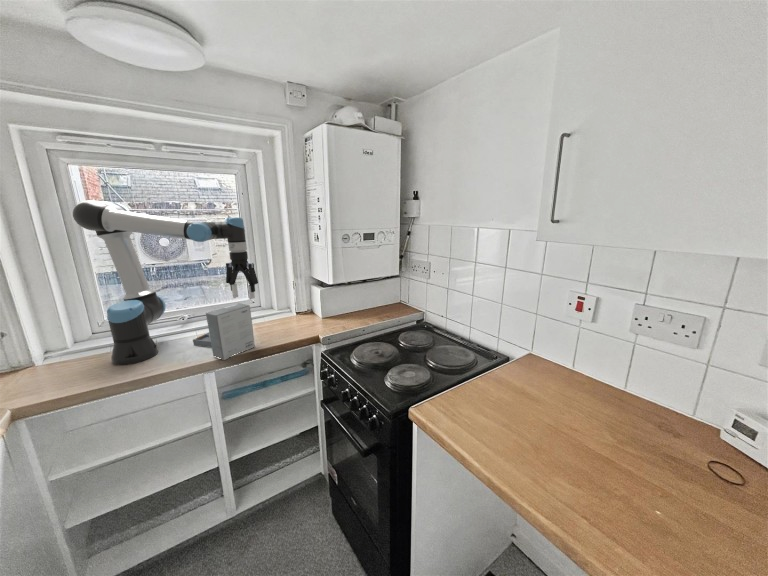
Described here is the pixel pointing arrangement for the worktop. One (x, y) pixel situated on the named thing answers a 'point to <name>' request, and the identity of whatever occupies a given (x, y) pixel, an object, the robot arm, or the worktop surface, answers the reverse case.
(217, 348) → the hard drive box
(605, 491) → the worktop surface
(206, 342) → the dark grey tray
